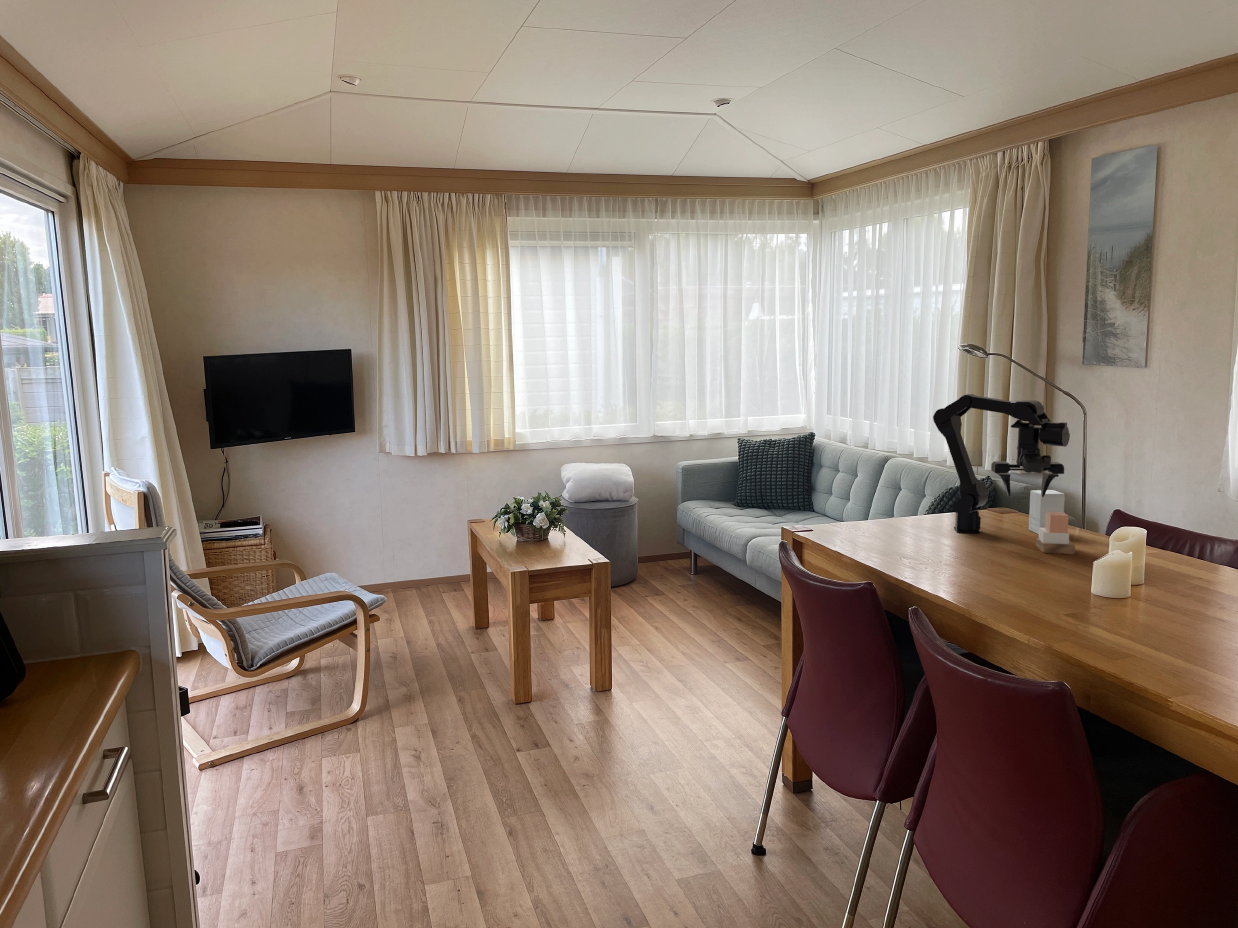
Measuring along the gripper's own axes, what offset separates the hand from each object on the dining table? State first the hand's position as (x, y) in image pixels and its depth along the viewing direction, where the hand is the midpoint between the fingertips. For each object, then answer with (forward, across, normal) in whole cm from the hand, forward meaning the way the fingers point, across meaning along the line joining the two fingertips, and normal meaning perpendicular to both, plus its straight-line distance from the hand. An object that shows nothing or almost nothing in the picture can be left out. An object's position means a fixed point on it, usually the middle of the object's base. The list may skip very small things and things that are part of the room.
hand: (1025, 496), depth 252 cm
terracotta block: (+8, +5, -12) cm, 15 cm away
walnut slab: (+14, +5, -12) cm, 19 cm away
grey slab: (+10, +5, -11) cm, 16 cm away
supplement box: (+13, +9, +11) cm, 19 cm away
